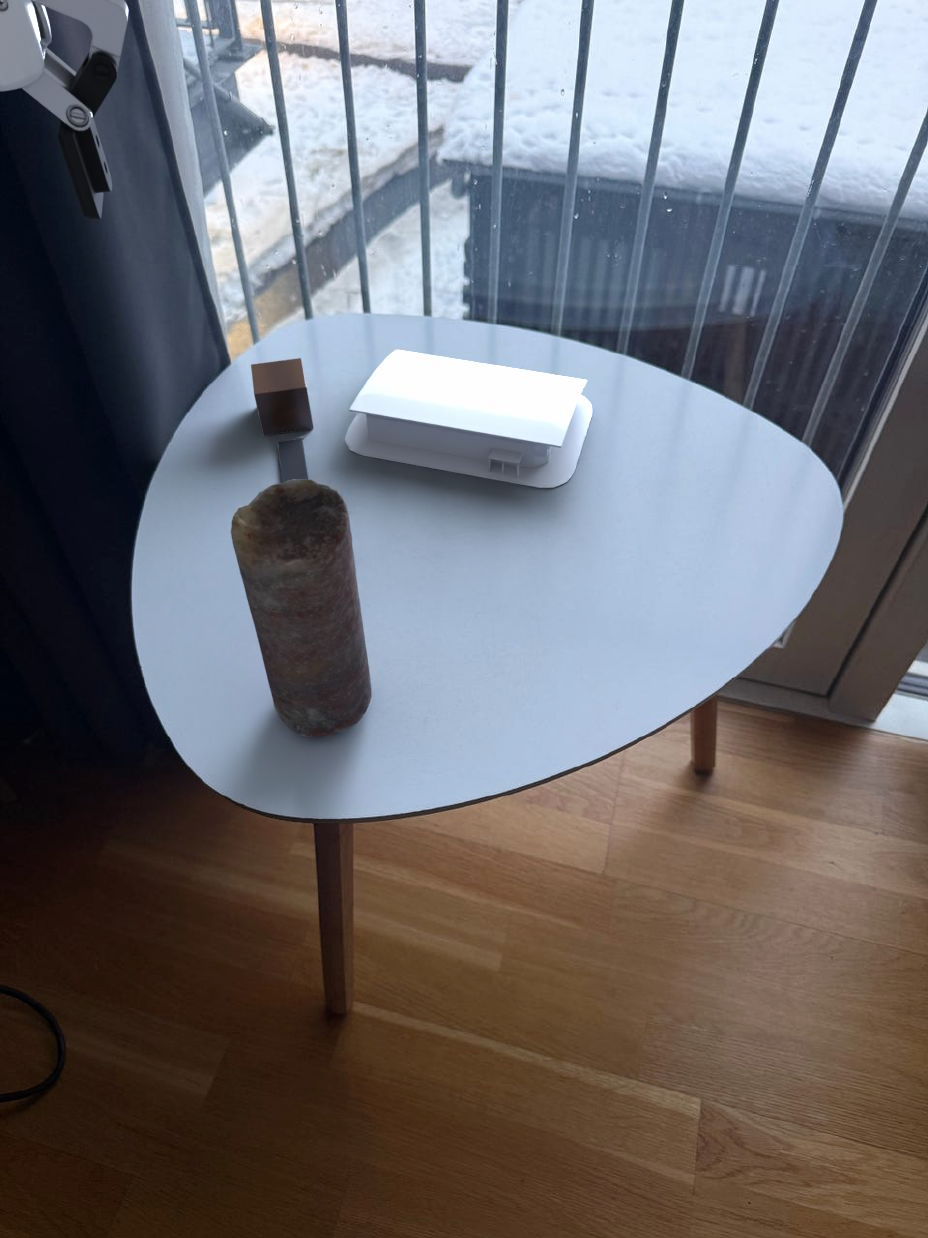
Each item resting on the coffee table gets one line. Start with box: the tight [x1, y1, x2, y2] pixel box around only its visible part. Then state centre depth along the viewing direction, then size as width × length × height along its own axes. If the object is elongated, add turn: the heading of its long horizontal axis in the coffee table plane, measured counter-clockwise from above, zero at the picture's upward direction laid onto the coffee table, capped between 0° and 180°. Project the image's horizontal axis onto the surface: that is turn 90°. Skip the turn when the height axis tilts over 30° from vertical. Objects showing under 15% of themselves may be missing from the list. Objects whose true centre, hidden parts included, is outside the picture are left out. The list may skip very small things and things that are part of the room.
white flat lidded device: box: [344, 349, 593, 489], centre depth 90 cm, size 15×23×4 cm, turn 74°
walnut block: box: [250, 357, 314, 437], centre depth 90 cm, size 5×5×5 cm
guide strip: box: [277, 437, 309, 483], centre depth 81 cm, size 2×27×1 cm, turn 12°
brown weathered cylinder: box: [230, 478, 372, 738], centre depth 62 cm, size 8×7×20 cm
